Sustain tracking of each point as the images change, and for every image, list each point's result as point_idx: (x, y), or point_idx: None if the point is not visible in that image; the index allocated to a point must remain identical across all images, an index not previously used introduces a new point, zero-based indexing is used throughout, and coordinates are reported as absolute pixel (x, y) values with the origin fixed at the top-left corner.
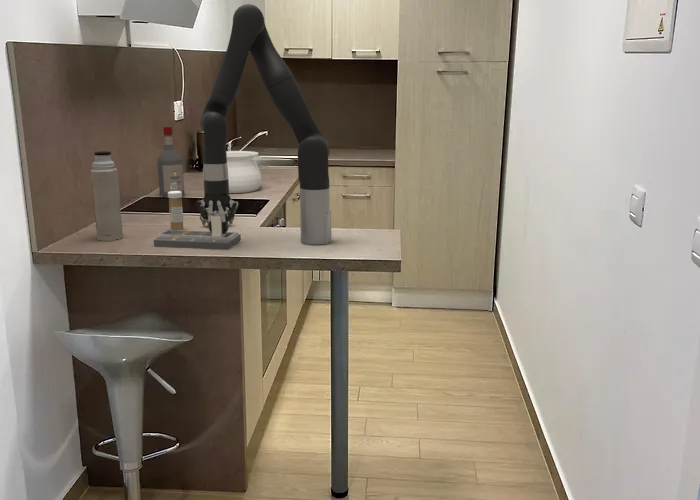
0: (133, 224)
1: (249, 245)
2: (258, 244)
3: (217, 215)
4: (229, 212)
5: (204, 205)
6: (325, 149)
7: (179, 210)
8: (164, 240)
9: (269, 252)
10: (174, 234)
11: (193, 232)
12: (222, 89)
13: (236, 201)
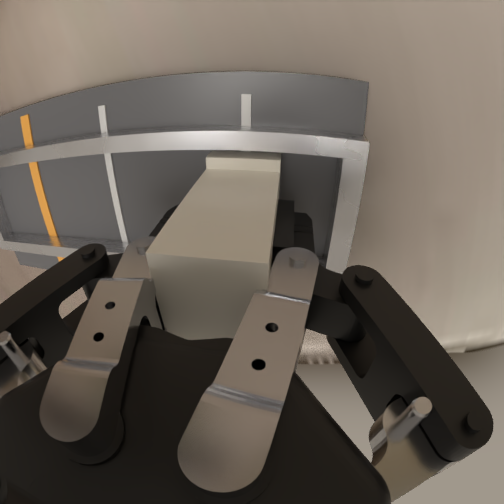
0: None
1: (424, 201)
2: (464, 180)
3: (215, 333)
4: (355, 387)
5: (36, 359)
6: None
7: None
8: (46, 268)
9: (482, 300)
10: (10, 168)
11: (62, 155)
12: None
13: (467, 454)
